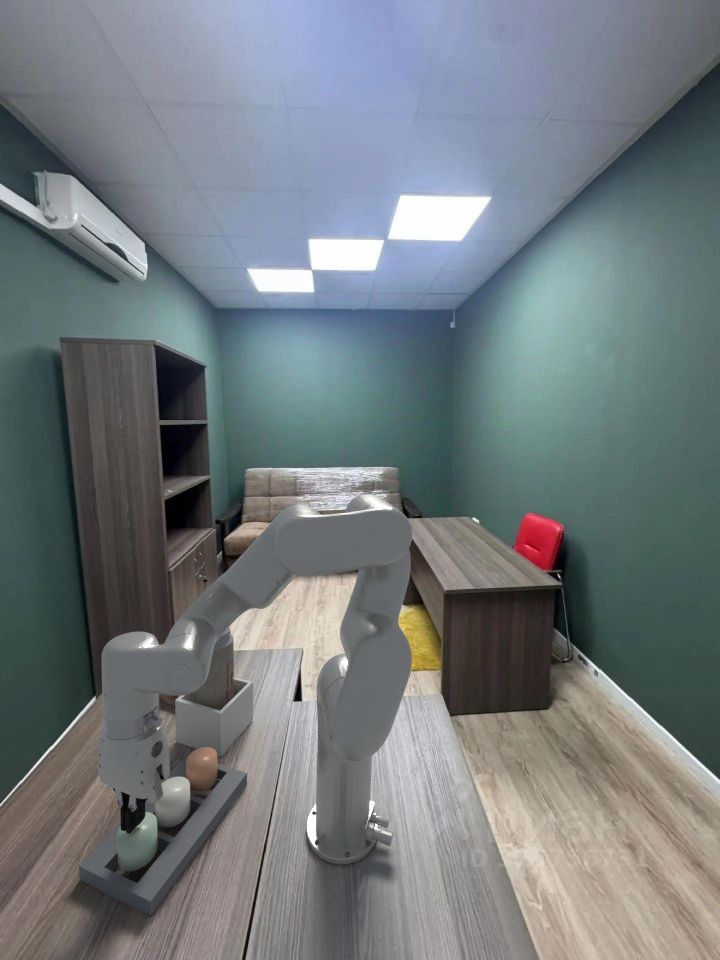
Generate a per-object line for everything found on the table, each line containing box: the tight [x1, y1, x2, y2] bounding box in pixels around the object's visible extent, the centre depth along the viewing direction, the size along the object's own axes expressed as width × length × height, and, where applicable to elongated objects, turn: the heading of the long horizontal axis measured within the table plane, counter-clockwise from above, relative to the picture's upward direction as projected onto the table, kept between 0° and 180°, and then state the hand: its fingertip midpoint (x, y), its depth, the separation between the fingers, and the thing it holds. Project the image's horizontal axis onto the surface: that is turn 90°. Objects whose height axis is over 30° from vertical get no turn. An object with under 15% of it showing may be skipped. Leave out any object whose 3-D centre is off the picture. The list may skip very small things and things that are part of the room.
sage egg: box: [117, 812, 158, 872], centre depth 66 cm, size 6×6×4 cm
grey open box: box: [174, 676, 254, 757], centre depth 97 cm, size 12×12×10 cm
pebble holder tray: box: [78, 753, 248, 917], centre depth 74 cm, size 14×24×2 cm, turn 161°
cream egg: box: [155, 777, 191, 828], centre depth 73 cm, size 6×6×4 cm
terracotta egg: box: [186, 747, 218, 792], centre depth 80 cm, size 6×6×4 cm
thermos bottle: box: [197, 626, 235, 710], centre depth 95 cm, size 8×8×28 cm
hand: (133, 823), depth 66 cm, fingers closed
